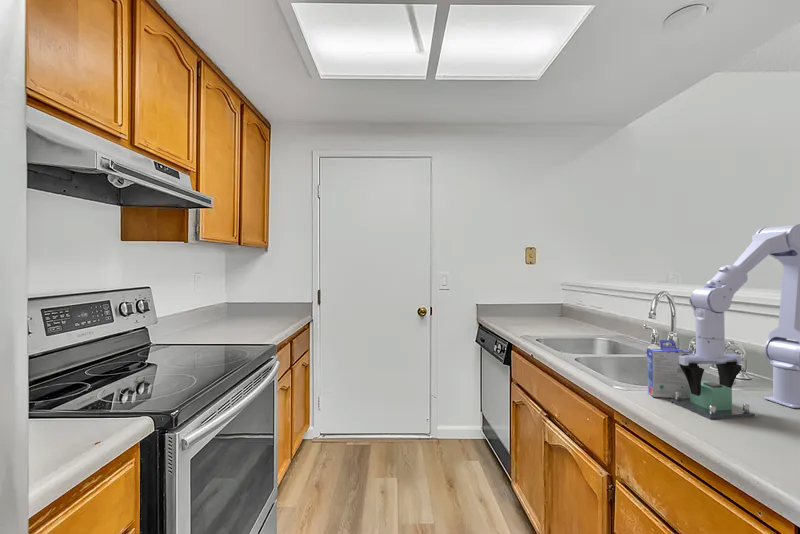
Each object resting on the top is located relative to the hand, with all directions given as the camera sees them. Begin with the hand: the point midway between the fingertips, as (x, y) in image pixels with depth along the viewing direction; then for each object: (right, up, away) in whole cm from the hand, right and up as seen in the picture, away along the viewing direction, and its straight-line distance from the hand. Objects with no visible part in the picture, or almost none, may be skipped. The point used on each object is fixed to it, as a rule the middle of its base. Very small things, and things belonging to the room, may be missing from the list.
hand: (710, 394), depth 109 cm
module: (0, -3, 0) cm, 3 cm away
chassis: (0, -4, 0) cm, 4 cm away
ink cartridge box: (-3, -4, +11) cm, 12 cm away
